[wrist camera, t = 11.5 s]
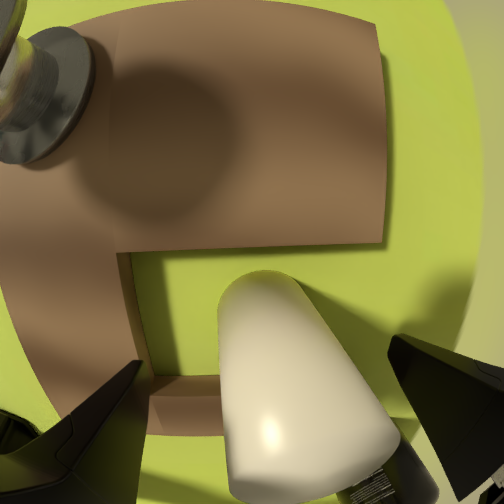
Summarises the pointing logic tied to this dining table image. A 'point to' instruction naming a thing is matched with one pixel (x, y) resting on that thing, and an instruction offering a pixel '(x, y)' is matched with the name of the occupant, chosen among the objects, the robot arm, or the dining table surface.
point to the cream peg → (292, 398)
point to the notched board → (188, 178)
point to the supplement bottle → (395, 481)
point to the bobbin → (40, 86)
